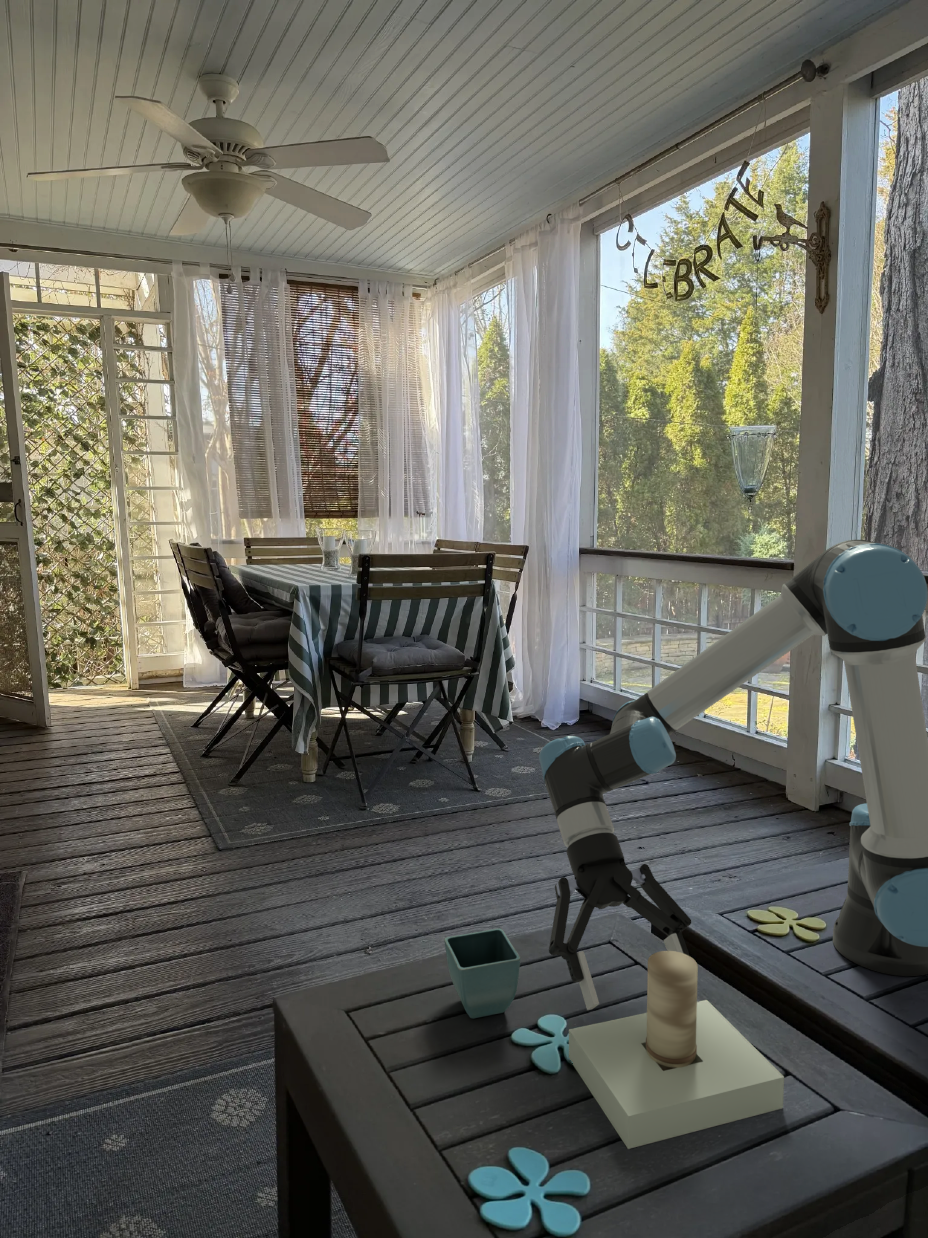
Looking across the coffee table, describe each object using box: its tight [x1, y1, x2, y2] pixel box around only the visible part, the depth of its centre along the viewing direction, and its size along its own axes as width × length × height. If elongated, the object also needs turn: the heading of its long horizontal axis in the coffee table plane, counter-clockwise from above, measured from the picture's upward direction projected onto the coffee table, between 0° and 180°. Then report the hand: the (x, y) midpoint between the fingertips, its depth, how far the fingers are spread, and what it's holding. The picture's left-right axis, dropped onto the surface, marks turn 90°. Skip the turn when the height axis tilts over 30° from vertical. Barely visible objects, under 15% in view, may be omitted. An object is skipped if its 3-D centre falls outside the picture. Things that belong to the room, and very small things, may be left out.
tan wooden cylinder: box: [646, 950, 699, 1071], centre depth 103 cm, size 6×6×15 cm
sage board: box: [568, 999, 785, 1150], centre depth 104 cm, size 20×16×4 cm
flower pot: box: [444, 928, 521, 1019], centre depth 120 cm, size 9×9×9 cm
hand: (641, 997), depth 110 cm, fingers open, 13 cm apart
